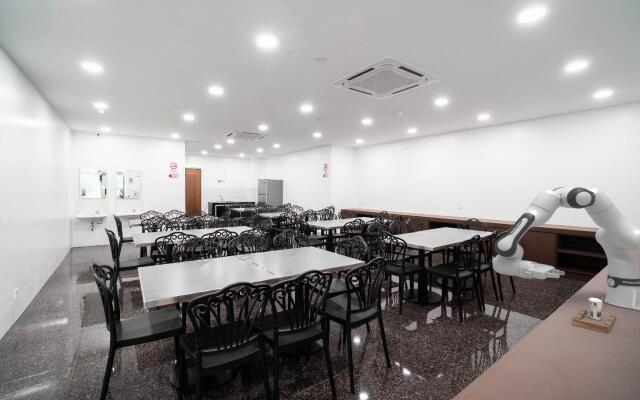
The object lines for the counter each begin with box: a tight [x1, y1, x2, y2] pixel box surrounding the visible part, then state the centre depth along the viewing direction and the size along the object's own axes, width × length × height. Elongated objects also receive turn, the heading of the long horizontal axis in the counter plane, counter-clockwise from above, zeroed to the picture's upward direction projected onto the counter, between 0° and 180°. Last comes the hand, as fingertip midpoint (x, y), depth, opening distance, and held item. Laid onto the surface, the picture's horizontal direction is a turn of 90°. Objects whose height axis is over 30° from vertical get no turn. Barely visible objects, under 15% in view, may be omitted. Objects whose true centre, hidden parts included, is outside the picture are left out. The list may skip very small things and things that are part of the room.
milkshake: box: [588, 296, 604, 321], centre depth 135 cm, size 5×5×10 cm
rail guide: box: [571, 307, 617, 334], centre depth 132 cm, size 24×11×2 cm, turn 130°
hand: (561, 274), depth 144 cm, fingers open, 8 cm apart
